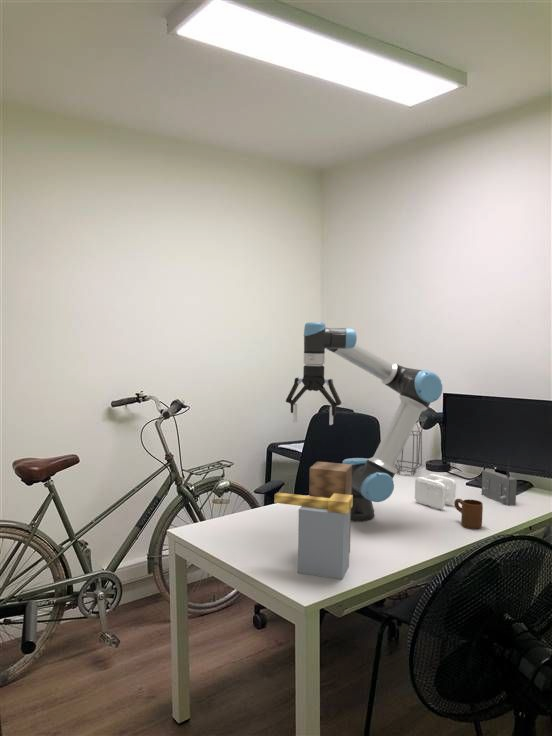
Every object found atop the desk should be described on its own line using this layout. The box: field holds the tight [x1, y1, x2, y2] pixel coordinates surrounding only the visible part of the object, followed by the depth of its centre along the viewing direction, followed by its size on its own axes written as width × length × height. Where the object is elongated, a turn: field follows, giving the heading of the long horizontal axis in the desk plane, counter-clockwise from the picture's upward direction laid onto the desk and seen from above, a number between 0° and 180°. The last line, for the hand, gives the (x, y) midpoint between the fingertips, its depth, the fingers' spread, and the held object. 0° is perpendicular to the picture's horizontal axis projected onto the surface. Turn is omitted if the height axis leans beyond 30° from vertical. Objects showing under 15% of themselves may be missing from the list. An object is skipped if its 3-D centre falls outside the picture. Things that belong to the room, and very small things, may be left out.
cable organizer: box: [414, 473, 457, 510], centre depth 250 cm, size 15×11×12 cm
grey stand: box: [297, 506, 351, 580], centre depth 181 cm, size 14×10×20 cm
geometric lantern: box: [394, 413, 428, 476], centre depth 302 cm, size 16×16×35 cm
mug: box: [453, 498, 484, 530], centre depth 225 cm, size 12×8×9 cm, turn 34°
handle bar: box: [273, 492, 353, 514], centre depth 181 cm, size 24×8×4 cm, turn 72°
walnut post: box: [308, 461, 352, 554], centre depth 192 cm, size 12×10×30 cm
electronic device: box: [481, 458, 518, 507], centre depth 258 cm, size 17×7×20 cm, turn 22°
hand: (312, 423), depth 211 cm, fingers open, 13 cm apart
